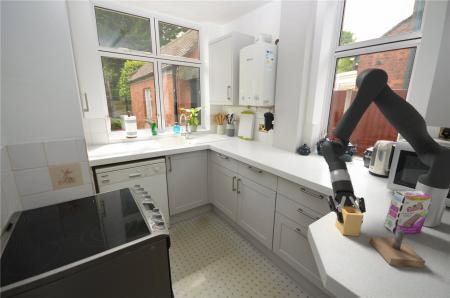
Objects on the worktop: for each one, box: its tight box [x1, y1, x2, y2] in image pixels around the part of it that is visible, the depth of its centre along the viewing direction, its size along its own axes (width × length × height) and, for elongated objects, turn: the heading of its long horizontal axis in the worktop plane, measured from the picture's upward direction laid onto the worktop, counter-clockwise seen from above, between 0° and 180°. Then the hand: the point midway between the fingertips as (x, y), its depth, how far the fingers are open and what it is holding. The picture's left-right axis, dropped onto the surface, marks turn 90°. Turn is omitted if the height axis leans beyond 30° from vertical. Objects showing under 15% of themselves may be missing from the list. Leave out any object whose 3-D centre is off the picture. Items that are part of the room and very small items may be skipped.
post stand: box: [368, 229, 426, 269], centre depth 65 cm, size 10×10×10 cm
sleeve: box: [335, 206, 364, 237], centre depth 76 cm, size 6×6×9 cm
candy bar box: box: [383, 190, 433, 235], centre depth 77 cm, size 11×5×16 cm, turn 92°
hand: (351, 223), depth 75 cm, fingers closed on sleeve, 6 cm apart
